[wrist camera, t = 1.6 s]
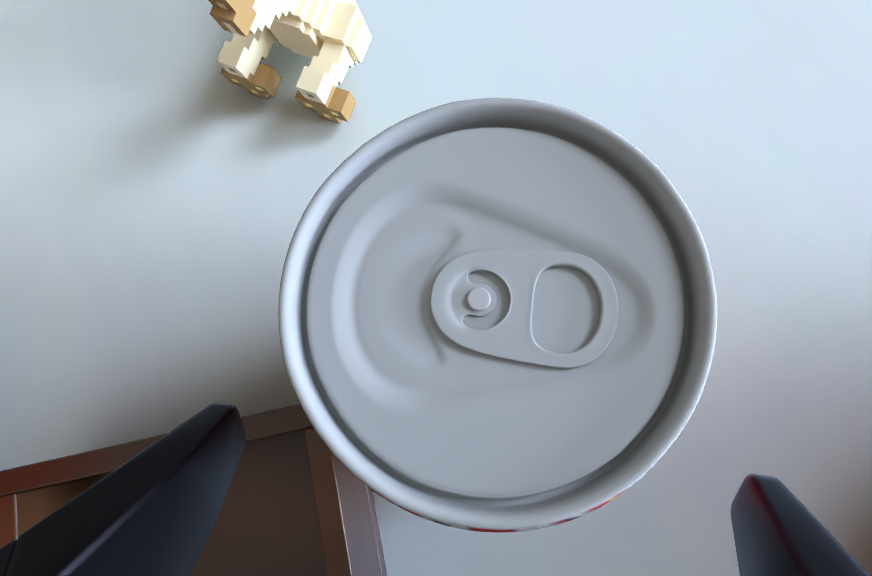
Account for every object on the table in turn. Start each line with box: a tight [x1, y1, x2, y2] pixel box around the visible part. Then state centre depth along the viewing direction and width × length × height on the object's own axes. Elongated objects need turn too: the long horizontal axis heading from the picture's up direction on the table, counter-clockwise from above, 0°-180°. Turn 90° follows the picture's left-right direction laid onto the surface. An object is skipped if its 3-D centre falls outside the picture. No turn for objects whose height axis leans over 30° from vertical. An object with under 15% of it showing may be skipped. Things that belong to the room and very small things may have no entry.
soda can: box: [278, 98, 717, 532], centre depth 14 cm, size 7×7×13 cm
